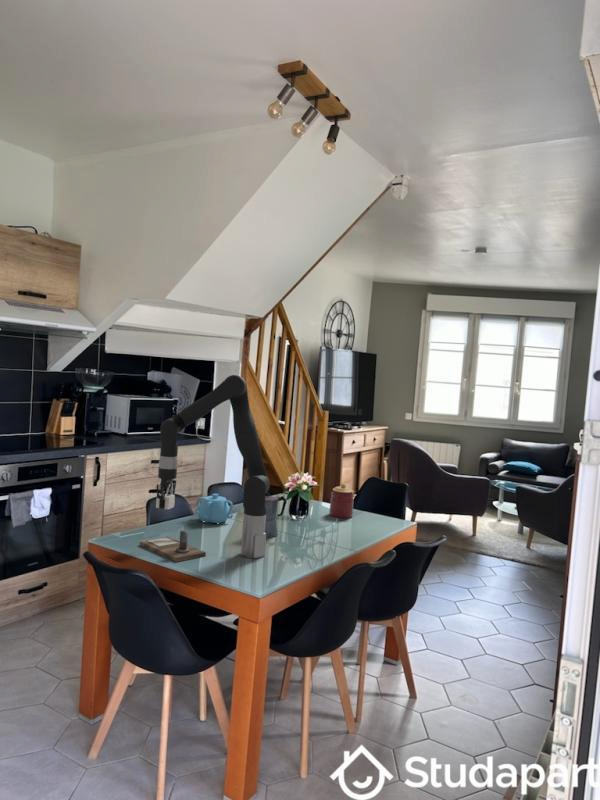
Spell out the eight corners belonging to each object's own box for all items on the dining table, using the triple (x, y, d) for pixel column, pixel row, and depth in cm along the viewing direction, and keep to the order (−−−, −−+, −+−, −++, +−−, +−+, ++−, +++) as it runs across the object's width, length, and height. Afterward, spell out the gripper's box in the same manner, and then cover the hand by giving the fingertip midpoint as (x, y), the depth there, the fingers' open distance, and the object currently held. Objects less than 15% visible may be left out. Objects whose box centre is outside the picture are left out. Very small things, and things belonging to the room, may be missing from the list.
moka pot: (249, 532, 284) (252, 490, 283) (279, 531, 291) (282, 489, 290) (257, 538, 275) (260, 495, 274) (287, 536, 282) (291, 494, 281)
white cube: (168, 509, 249) (169, 497, 249) (155, 507, 250) (156, 495, 250) (174, 506, 254) (175, 494, 254) (161, 505, 256) (162, 493, 255)
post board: (205, 555, 245) (207, 532, 244) (176, 562, 234) (178, 537, 234) (168, 539, 262) (169, 518, 262) (139, 545, 252) (141, 522, 252)
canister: (356, 518, 329) (358, 486, 328) (333, 518, 325) (336, 485, 324) (347, 512, 341) (350, 481, 340) (326, 512, 338) (328, 481, 337)
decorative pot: (193, 517, 304) (194, 490, 303) (223, 516, 310) (225, 490, 310) (202, 526, 289) (203, 498, 288) (234, 524, 296) (236, 497, 295)
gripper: (168, 470, 244) (165, 511, 244) (183, 465, 258) (180, 504, 258) (151, 468, 245) (148, 509, 246) (167, 463, 259) (164, 502, 260)
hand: (165, 506), depth 252 cm, fingers closed on white cube, 5 cm apart
